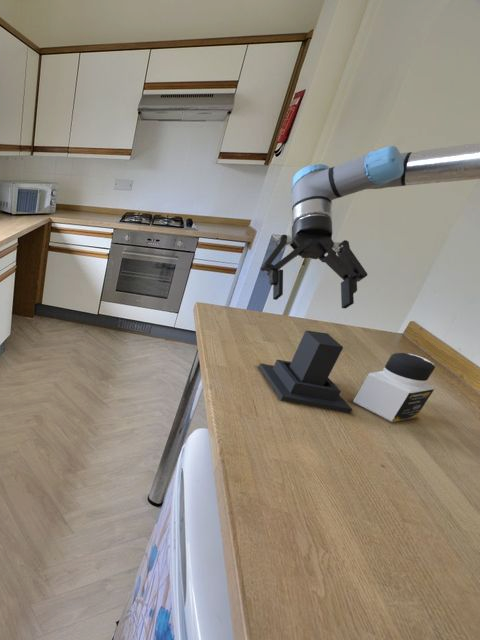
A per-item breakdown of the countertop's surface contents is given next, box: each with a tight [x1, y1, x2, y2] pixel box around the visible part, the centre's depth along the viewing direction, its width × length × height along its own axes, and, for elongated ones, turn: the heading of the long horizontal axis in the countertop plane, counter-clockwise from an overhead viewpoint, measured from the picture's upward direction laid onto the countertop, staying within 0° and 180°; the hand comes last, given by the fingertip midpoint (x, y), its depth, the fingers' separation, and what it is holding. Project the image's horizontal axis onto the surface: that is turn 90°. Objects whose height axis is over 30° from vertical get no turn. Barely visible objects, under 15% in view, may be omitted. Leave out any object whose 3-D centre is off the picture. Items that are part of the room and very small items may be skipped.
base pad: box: [258, 359, 353, 414], centre depth 88 cm, size 12×15×4 cm
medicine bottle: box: [353, 352, 436, 423], centre depth 80 cm, size 7×7×12 cm
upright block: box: [288, 330, 344, 386], centre depth 86 cm, size 4×7×11 cm, turn 162°
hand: (312, 301), depth 93 cm, fingers open, 13 cm apart
